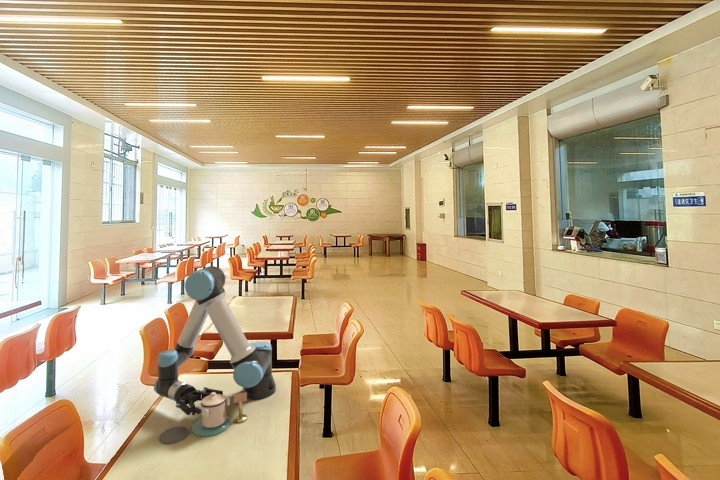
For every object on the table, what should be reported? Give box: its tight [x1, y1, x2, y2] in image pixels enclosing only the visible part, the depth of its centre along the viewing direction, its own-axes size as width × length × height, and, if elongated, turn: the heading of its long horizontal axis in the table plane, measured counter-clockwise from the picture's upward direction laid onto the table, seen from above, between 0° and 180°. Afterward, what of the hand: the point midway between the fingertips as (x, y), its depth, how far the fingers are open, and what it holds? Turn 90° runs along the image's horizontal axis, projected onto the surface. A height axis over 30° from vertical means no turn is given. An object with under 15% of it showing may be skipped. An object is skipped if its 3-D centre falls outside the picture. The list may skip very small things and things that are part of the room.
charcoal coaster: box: [158, 425, 190, 445], centre depth 137 cm, size 10×10×1 cm
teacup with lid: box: [200, 392, 227, 428], centre depth 143 cm, size 12×9×12 cm
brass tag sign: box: [233, 391, 248, 424], centre depth 148 cm, size 5×5×11 cm
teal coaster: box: [191, 415, 231, 438], centre depth 143 cm, size 14×14×1 cm
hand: (218, 407), depth 140 cm, fingers closed on teacup with lid, 9 cm apart
